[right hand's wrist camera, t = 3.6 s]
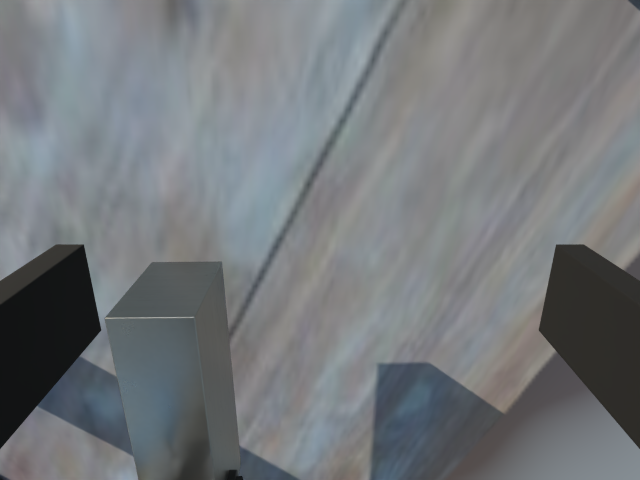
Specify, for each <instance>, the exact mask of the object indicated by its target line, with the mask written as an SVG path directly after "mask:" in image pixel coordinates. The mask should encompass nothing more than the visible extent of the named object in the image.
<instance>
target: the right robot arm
mask: <svg viewBox="0 0 640 480" xmlns="http://www.w3.org/2000/svg"><path fill="white" fill-rule="evenodd" d="M100 331H101V327H100V322H99V317H98V312H97V307H96V302H95V297H94V292H93V288H92V283H91V278H90V273H89V268H88V263H87V258H86V253H85V248H84V245H55V246H53V247H52V248H50V249H49V250H47V251H46V252H44V253H43V254H41V255H39V256H38V257H36V258H35V259H33V260H32V261H30V262H29V263H27V264H26V265H24V266H23V267H21V268H19V269H18V270H16V271H15V272H13V273H12V274H10V275H9V276H7V277H6V278H4V279H3V280H1V281H0V449H1V447H2V446H3V445H4V444H5V443H6V441H7V440H8V439H9V438H10V437H11V436H12V434H13V433H14V432H15V431H16V430H17V429H18V427H19V426H20V425H21V424H22V423H23V422H24V420H25V419H26V418H27V417H28V416H29V414H30V413H31V412H32V411H33V410H34V409H35V407H36V406H37V405H38V404H39V403H40V402H41V400H42V399H43V398H44V397H45V396H46V395H47V393H48V392H49V391H50V390H51V389H52V387H53V386H54V385H55V384H56V383H57V382H58V380H59V379H60V378H61V377H62V376H63V375H64V373H65V372H66V371H67V370H68V369H69V368H70V366H71V365H72V364H73V363H74V362H75V360H76V359H77V358H78V357H79V356H80V355H81V353H82V352H83V351H84V350H85V349H86V348H87V346H88V345H89V344H90V343H91V342H92V340H93V339H94V338H95V337H96V336H97V335H98V333H99V332H100ZM539 331H540V332H541V333H542V335H543V336H544V337H545V338H546V339H547V340H548V342H549V343H550V344H551V345H552V346H553V348H554V349H555V350H556V351H557V352H558V353H559V354H560V356H561V357H562V358H563V359H564V360H565V362H566V363H567V364H568V365H569V366H570V368H571V369H572V370H573V371H574V372H575V373H576V375H577V376H578V377H579V378H580V379H581V380H582V382H583V383H584V384H585V385H586V386H587V387H588V389H589V390H590V391H591V392H592V393H593V394H594V396H595V397H596V398H597V399H598V400H599V402H600V403H601V404H602V405H603V406H604V407H605V409H606V410H607V411H608V412H609V413H610V414H611V416H612V417H613V418H614V419H615V420H616V422H617V423H618V424H619V425H620V426H621V427H622V429H623V430H624V431H625V432H626V433H627V434H628V436H629V437H630V438H631V439H632V440H633V441H634V443H635V444H636V445H637V446H638V447H639V449H640V281H639V280H637V279H636V278H634V277H633V276H631V275H630V274H628V273H627V272H625V271H624V270H622V269H621V268H619V267H617V266H616V265H614V264H613V263H611V262H610V261H608V260H607V259H605V258H604V257H602V256H601V255H599V254H597V253H596V252H594V251H593V250H591V249H590V248H588V247H587V246H585V245H556V248H555V253H554V258H553V263H552V268H551V273H550V278H549V283H548V288H547V292H546V297H545V302H544V307H543V312H542V317H541V322H540V327H539Z"/></svg>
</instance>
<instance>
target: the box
mask: <svg viewBox="0 0 640 480" xmlns="http://www.w3.org/2000/svg"><path fill="white" fill-rule="evenodd" d="M105 323H106V328H107V332H108V337H109V342H110V347H111V351H112V356H113V361H114V366H115V370H116V375H117V380H118V385H119V389H120V394H121V399H122V404H123V408H124V413H125V418H126V423H127V427H128V432H129V437H130V442H131V446H132V451H133V456H134V461H135V465H136V470H137V475H138V480H227V478H228V473H229V470H237V471H238V476H239V471H240V466H241V459H240V448H239V437H238V427H237V416H236V406H235V395H234V385H233V374H232V363H231V353H230V342H229V332H228V321H227V311H226V300H225V289H224V279H223V268H222V262H152V263H151V264H150V265H149V266H148V268H147V269H146V270H145V271H144V272H143V274H142V275H141V276H140V277H139V278H138V279H137V281H136V282H135V283H134V284H133V285H132V286H131V288H130V289H129V290H128V291H127V292H126V294H125V295H124V296H123V297H122V298H121V299H120V301H119V302H118V303H117V304H116V305H115V307H114V308H113V309H112V310H111V311H110V312H109V314H108V315H107V316H106V317H105Z"/></svg>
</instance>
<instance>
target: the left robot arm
mask: <svg viewBox="0 0 640 480" xmlns="http://www.w3.org/2000/svg"><path fill="white" fill-rule="evenodd" d="M227 480H243V478H242V476H238V471H237V470H229V473H228V478H227Z"/></svg>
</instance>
